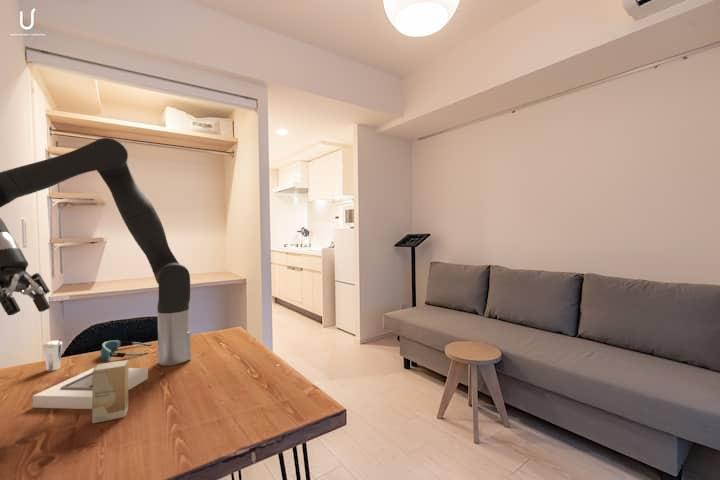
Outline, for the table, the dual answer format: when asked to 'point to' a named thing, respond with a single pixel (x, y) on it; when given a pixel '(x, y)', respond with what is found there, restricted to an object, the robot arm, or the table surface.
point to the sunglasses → (114, 345)
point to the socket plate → (79, 390)
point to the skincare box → (110, 391)
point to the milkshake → (52, 354)
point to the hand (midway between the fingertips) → (30, 311)
